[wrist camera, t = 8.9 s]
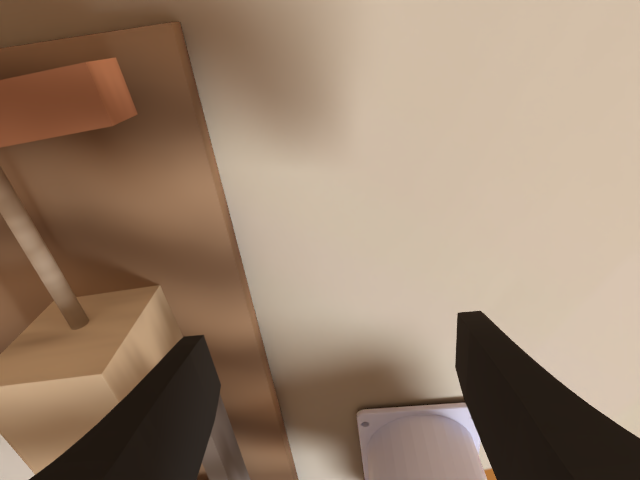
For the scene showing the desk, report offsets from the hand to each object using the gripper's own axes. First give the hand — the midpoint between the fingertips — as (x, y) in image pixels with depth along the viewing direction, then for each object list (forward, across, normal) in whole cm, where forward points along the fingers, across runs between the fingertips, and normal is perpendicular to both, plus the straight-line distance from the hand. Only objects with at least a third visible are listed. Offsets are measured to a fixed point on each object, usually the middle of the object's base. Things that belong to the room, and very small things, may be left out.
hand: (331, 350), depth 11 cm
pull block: (+8, +12, 0) cm, 15 cm away
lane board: (+9, +13, +7) cm, 18 cm away
